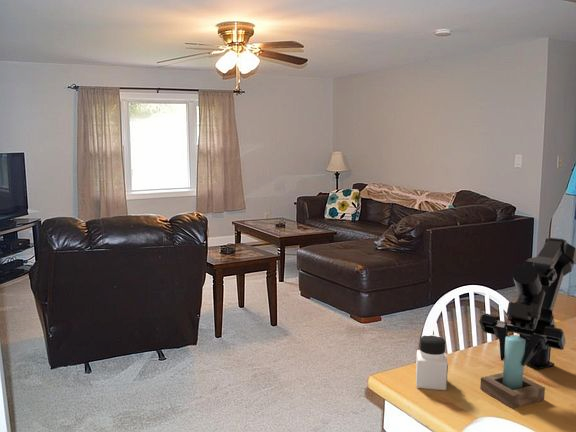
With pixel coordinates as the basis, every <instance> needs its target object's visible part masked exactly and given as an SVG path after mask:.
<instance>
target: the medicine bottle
mask: <svg viewBox="0 0 576 432" xmlns="http://www.w3.org/2000/svg"><path fill="white" fill-rule="evenodd" d="M415 358H416V359H415V361H416V363H415V382H416V383H415V385H416V388H418V389H425V390H427V389H428V390H436V391H437V390H438V391H447V389H448V388H447V387H448V373H449V371H448V369H449V368H448V367H449V363H448V357H447V353H446V340H445V339H444V338H443V337H442V336H439V335H437V334H425V335H421V337H420V338H419V349H417V350H416V357H415Z"/></svg>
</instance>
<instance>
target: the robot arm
mask: <svg viewBox="0 0 576 432" xmlns="http://www.w3.org/2000/svg"><path fill="white" fill-rule="evenodd" d="M574 265H576V247H575V246H573V245H571V243H568V241H567V240H565V239H564V238H557V237H547V238H546V239H545V242H544V243H543V247H541V250H540V251H539V252H538V254H537V256H535V257H529V258H528V259H527V260H525V261H524V263H523V264H521V265H518V266H516V267H515V268H514V269H513V270H512V274H511V275H512V278H513V283H514V285H515V289H516V291H517V292H518V293H519V294H518V297H517V299H516V301H515V302H512V301H509V302H508V304H507V305H508V306H507V308H506V316H507V321H509V322H505V321H504V320H503V321H502V320H500V316H499V315H494V314H489V313H485V312H484V313H483V314H482V315H481V316H480V318H479V321H478V322H479V324H480V327H481V330H482V331H483V333H486V334H490V335H495V337H496V339H498V341H499V353H500V360H501V361H503V362H504V352H505V337H506V336H509V332H510V333H513V334H519V335H518V336H519V337H522V338H524V339H525V340H526V343H525V354H524V357H523V361H522V366H524V367H525V366H526V365H528V366H530V367H532V368H534V369H536V370H540V369H545V368H550V367H554V366H555V363H554V362H552V361H551V351H552V349H556V350H560V351H562V350H564V349H565V347H566V346H565V345H566V336H565V332H564V330H562V328H558V327H557V326H556V324H555V316H554V314H553V310H554V308H555V306H556V305H555V304H556V301H557V298H558V296H559V292H560V288H561V285H562V281H563V280H564V279H563V278H564V276H566V275H567V274H569V273H571V272H572V271H573V268H574Z"/></svg>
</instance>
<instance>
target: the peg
mask: <svg viewBox="0 0 576 432" xmlns="http://www.w3.org/2000/svg"><path fill="white" fill-rule="evenodd" d="M525 343H526V340H525V339H524V338H522V337H520V335H508V336H506V337H505V352H504V360H503V367H502V368H503V370H502V373H503V381H502V385H504V386H506V387H508V388H510V389H511V390H516V389H520V388H522V384H523V377H524V369H525V368H524V367H525V366H522V361H523V357H524V354H525Z"/></svg>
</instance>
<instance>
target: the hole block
mask: <svg viewBox="0 0 576 432" xmlns="http://www.w3.org/2000/svg"><path fill="white" fill-rule="evenodd" d="M502 381H503V372H500V373H495V374H491V375H487V376H482V377H480V387H479V389H480V390H481V391H483V392H484V393H486V394H488V395H490V396H491V397H493V398H494V399H496V400H497V401H499V402H501V403H503V404H505V405H506V406H508V407H509V408H512V409H513V408H518V407H522V406H525V405H529V404H533V403H536V402H539V401H541V402H542V401H544V400H545V393H546V387H544V385H541V384H539V383H537V382H535V381H533V380H531V379H529V378H527V377H526V376H523V384H522V388H520V389H516V390H511V389H510V388H508V387H506V386H504V385H502Z"/></svg>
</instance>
